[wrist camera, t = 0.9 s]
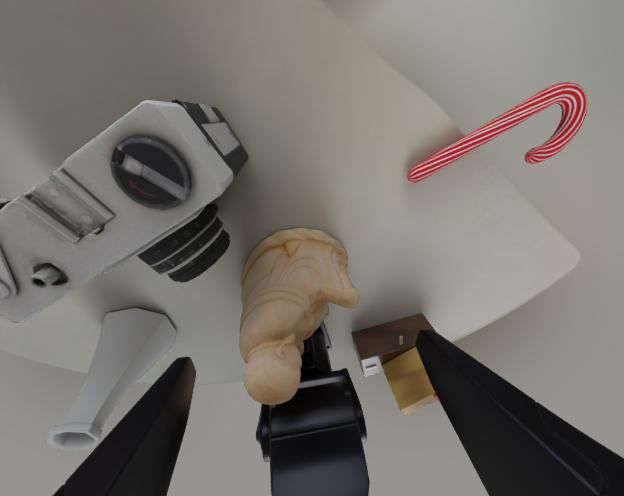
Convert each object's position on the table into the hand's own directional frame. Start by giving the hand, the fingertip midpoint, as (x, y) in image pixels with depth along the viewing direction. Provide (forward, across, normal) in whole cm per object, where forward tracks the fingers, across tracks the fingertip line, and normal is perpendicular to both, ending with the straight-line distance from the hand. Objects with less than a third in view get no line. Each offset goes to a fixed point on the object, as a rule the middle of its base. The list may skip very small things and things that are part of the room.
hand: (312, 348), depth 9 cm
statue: (+14, 0, +7) cm, 16 cm away
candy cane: (+12, -10, -3) cm, 16 cm away
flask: (+14, +17, +12) cm, 26 cm away
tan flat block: (+10, -13, +18) cm, 24 cm away
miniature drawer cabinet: (+14, -13, +18) cm, 26 cm away
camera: (+14, +9, -2) cm, 17 cm away
